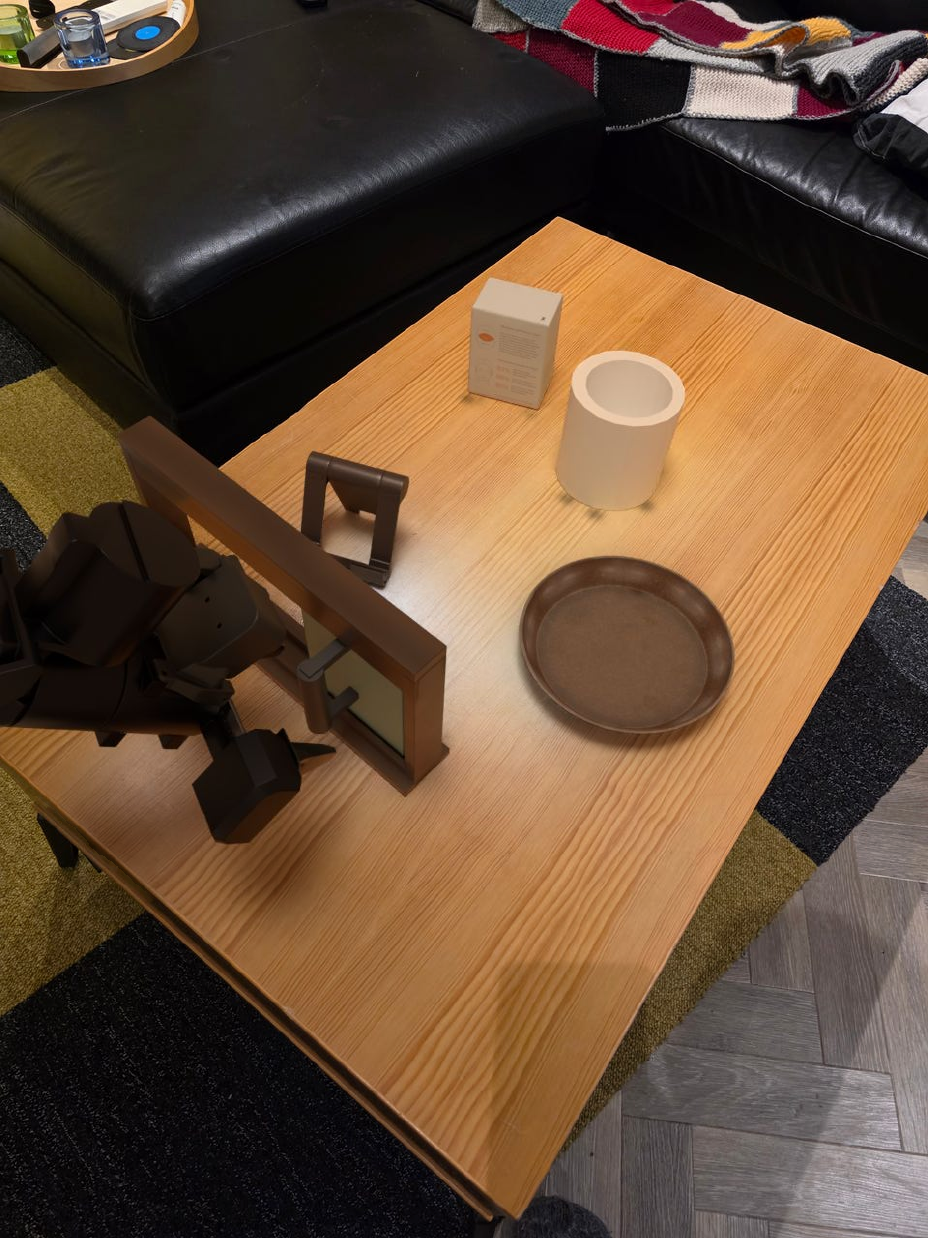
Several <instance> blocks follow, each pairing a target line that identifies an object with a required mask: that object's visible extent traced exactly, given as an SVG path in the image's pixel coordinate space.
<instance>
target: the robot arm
mask: <svg viewBox="0 0 928 1238" xmlns="http://www.w3.org/2000/svg"><path fill="white" fill-rule="evenodd" d="M15 552H16V551H14V549H13V548H10V547H2V548H0V728H14V729H15V728H16V729H35V730H53V731H54V730H55V731H56V730H57V731H75V732H76V731H77V732H93V733H94V735H95V739H96V741H97V745H98V747H99V748H116V747H117V746H118V745H119V744H120V743H121V741H122V740H123V739H124V738H125V737H126V736H127V735H128V734H134V735H135V734H136V735H152V736H153V735H154V736H157V737H158V740H159V742H160V745H161V748H162V750H177V751H178V750H179V748H181V746H182V745H183V744H184V743H185V741H187V739H188V738H189V737H197V736H199V735H202V737H203V740H204V743H205V744H206V748H207V749H208V751H209V754H210V757H211V759H212V761H211V762H210V763H209V764H208V766H207V767H206V768H205V769H204V770H203V771H202V772H201V773H200V774H199V776H198V777H196V779H195V780H194V781H193V782H192V783H191V787H192V788H193V792H194V794H195V798H196V800H197V802H198V805H199V807H200V810H201V812H202V815H203V817H204V820H205V823H206V825H207V828H208V830H209V833H210V834H211V837H212V839H213V840H214V842H215V843H219V844H223V845H226V846H227V845H240V844H250V843H251V842H252V841H253V840H254V839H255V838H256V837H257V836H258V835H259V834H260V833H261V832H262V831H263V830H264V829H265V828H266V827H267V826H268V825H269V823H270V822H272V821H273V820H274V818H275V817H276V816H277V815H278V814H279V813H280V812H281V811H282V810H283V809H284V808H285V807H287V806H288V804H289V803H290V802H291V801H292V800H293V799H294V798H296V796H297V795H298V794H299V793H300V792H301V786H302V778H303V776H304V775H305V774H307V773H310V772H311V771H313V770H315V769H317V768H318V767H321V766H322V765H325V764H326V763H328V762H329V761H331V760H332V758H334V756H335V755H337V753H338V750H337V748H336V746H333V745H329V744H325V743H312V742H302V741H301V742H299V741H291V739H290V737H289V735H288V732H287V731H286V728H284V727H281V728H280V729H279V730H278V731H277V732H276V733H275V732H273V731H272V729H268V728H266V729H265V728H254V729H251V730H249V731H246V729H245V726H244V723H243V721H242V719H241V717H240V715H239V712H238V710H237V707H236V705H235V703H234V701H233V699H232V697H233V696H234V695H235V694H236V690H235V688H234V686H233V684H232V682H231V679H234V678H236V677H238V676H239V675H240V674H241V673H243V672H244V671H246V670H248V669H249V668H250V667H252V666H253V665H255V664H254V663H255V662H257V661H258V660H260V659H265V658H273V657H277V656H279V655H280V654H281V653H282V651H283V650H284V649H285V647H284V645H283V643H284V641H285V639H286V634H287V631H286V627H285V625H284V623H283V621H282V620H281V619H280V617H279V615H278V613H277V611H276V609H275V607H274V605H273V603H272V602H271V600H272V599H271V598H270V597H271V595H270V594H269V592H268V590H267V588H265V587H264V586H263V585H262V584H260V583H259V582H258V581H256V580H254V578H252V577H251V576H250V575H248V574H247V573H246V571H245V569H244V567H243V564H242V563H241V561H240V558H239V557H238V556H237V555H235V554H229V555H226V554H225V553H222V554H221V553H219V552H218V551H216V550H214V549H210V548H209V549H203V548H196V547H193V545H192V544H191V542H190V541H189V540H188V539H187V537H186V536H185V535H184V534H183V533H182V532H181V531H180V530H179V529H178V528H177V527H176V526H175V525H174V524H173V523H171V522H170V521H169V520H167V519H166V518H164V517H163V516H162V515H160V514H158V513H157V512H155V511H153V510H151V509H149V508H148V507H145V506H143V505H142V504H140V503H137V502H136V501H135V502H134V501H132V500H127V499H123V500H122V501H121V502H120V501H107V502H101V503H99V504H98V505H96V506H95V507H93V508H92V509H91V511H90V512H89V514H88V515H87V516H85V515H82V514H78V513H74V512H71V511H67V512H63V513H61V515H60V516H59V517H58V519H57V520H56V522H55V523H54V524H53V525H52V527H51V528H50V531H49V533H48V536H47V539H46V542H45V544H44V546H42V548H41V549H40V551H39V552H38V553H37V555H36V556H35V558H34V559H33V561H32V562H31V563H30V565H29V566H28V568H27V569H26V570H25V571H22V570H20V567H19V564H18V561H17V556H16V553H15ZM270 599H271V600H270Z"/></svg>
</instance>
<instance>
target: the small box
mask: <svg viewBox="0 0 928 1238" xmlns="http://www.w3.org/2000/svg"><path fill="white" fill-rule="evenodd" d="M563 302H564V294H563V293H560V292H555V291H551V290H547V289H542V288H539V287H538V288H537V287H534V286H530V285H525V284H521V283H517V282H514V281H513V282H512V281H508V280H504V279H500V278H495V277H491V276H490V277H488V279H487V281H486V282H485V284H484V285H483V287H482V289H481V291H480V292H479V294H478V296H477V297H476V299H475V301H474V303H473V304H472V306H471V309H470V313H471V314H470V328H469V329H470V330H469V331H470V332H469V348H468V350H469V351H468V370H467V371H468V373H467V392H468V393H471V394H476V395H479V396H483V397H487V398H491V399H495V400H499V401H503V402H506V403H511V404H514V405H517V406H522V407H526V408H530V409H533V410H539V409H540V406H541V404H542V402H543V399H544V397H545V395H546V392H547V390H548V388H549V385H550V383H551V381H552V379H553V373H554V367H555V360H556V353H557V346H558V339H559V338H558V337H559V331H560V321H561V317H562V310H563V304H564V303H563Z"/></svg>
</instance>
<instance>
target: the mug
mask: <svg viewBox="0 0 928 1238" xmlns="http://www.w3.org/2000/svg"><path fill="white" fill-rule="evenodd" d="M685 399H686V389H685V386H684V384H683V382H682V379H681V378H680V376H679V375H678V374H677V373H676V372H675V371H674V370H673V369H672V367H671V366H668V365H667V364H665V363H664V362H662V361H660V360H659V359H658V358H656V357H652V356H649V355H646V354H645V353H644V354H643V353H641V352H636V351H628V350H609V351H603V352H600V353H597V354H593V355H591V356H588V358H586V359H584V360H583V361H581V362H580V363H579V364H578V366H576V368H575V369H574V370H573V372H572V376H571V382H570V388H569V392H568V398H567V404H566V410H565V415H564V421H563V425H562V432H561V436H560V441H559V448H558V453H557V459H556V465H555V466H556V467H555V473H556V477H557V481H558V483H559V484H560V486H561V487H562V488H563V490H564V491H565V492H566V493H567V495H569V496H570V497H572V498H573V499H574V500H576V501H577V502H579V503H581V504H583V505H586V506H589V507H591V508H593V509H597V510H604V511H610V512H613V511H625V510H626V511H627V510H630V509H633V508H635V507H638V506H641V505H643V504H644V503H645V502H647V501H648V500H649V499H650V498H652V497H653V495H654V493H655V491H656V490H657V487H658V485H659V483H660V480H661V476H662V473H663V471H664V467H665V464H666V461H667V457H668V455H669V451H670V448H671V445H672V442H673V439H674V435H675V434H676V433H675V432H676V430H677V427H678V423H679V420H680V418H681V415H682V411H683V407H684V405H685V401H686V400H685Z"/></svg>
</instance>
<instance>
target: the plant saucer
mask: <svg viewBox="0 0 928 1238" xmlns="http://www.w3.org/2000/svg"><path fill="white" fill-rule="evenodd" d="M520 615H521V616H520V620H519V628H518V637H519V646H520V650H521V653H522V657H523V659H524V663H525V664H526V667H527V668H528V670H529V672H530V674H531V675H532V677H533V679H534V680H535V682H536V683H537V685H538V686H539V687H540V688H541V689H542V690H543V692H544V693H545V694H546V695H547V696H548V697H549V698H550V699H551V700H552V701H553V702H555V704H557V705H558V706H559V707H561V708H562V709H563V710H565V711H566V712H567V713H569V714H571V715H572V716H573V717H575V718H577V719H579V720H581V721H583V722H585V723H587V724H590V725H591V726H595V727H597V728H600V729H603V730H607V731H612V732H616V733H622V734H631V735H650V734H659V733H665V732H671V731H673V730H676V729H681V728H683V727H686V726H688V725H691V724H692V723H694V722H696V721H698V720H700V719H701V718H702V717H704V716H706V715H707V714H709V713H710V712H711V711H712V710H713V709H714V708H715V707H716V706H717V705H718V704H719V703H720V701H721V700H722V699H723V698H724V696H725V694H726V692H727V691H728V689H729V687H730V684H731V683H732V678H733V675H734V670H735V664H736V655H735V647H734V641H733V636H732V633H731V631H730V628H729V626H728V624H727V621H726V619H725V618H724V616H723V613H722V612H721V611H720V610H719V608H718V607H717V605H716V604H715V603H714V602H713V600H712V599H711V598H710V597H709V596H708V595H707V593H705V592H704V591H703V590H702V589H701V588H699V586H698V585H696V584H695V583H693V582H692V581H691V580H689V578H686V576H684V575H682V574H680V573H679V572H677V571H675V570H672V569H670V568H668V567H666V566H664V565H662V564H660V563H656V562H653V561H650V560H647V559H643V558H636V557H632V556H627V555H597V556H590V557H585V558H581V559H577V560H575V561H571V562H569V563H567V564H564V565H562V566H560V567H558V568H556V569H554V570H553V571H551V572H550V573H548V574H547V575H546V576H545V577H544V578H543V579H541V581H539V582H538V584H536V586H535V587H534V588H533V590H532V591H531V592H530V593H529V595H528V597H527V599H526V601H525V603H524V605H523V608H522V611H521V614H520Z"/></svg>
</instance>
